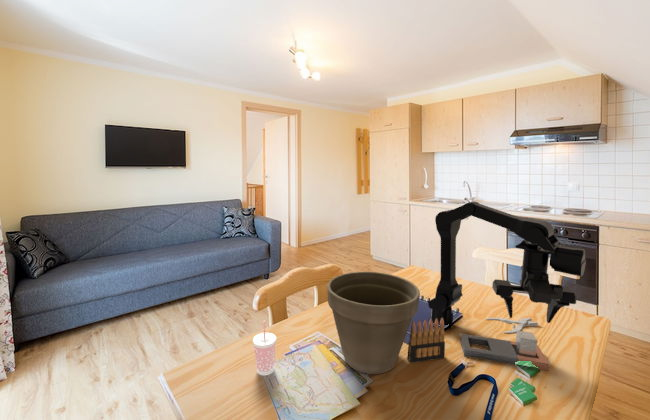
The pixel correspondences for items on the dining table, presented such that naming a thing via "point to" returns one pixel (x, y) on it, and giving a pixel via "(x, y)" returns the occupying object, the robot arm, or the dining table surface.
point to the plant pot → (372, 317)
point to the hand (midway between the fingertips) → (529, 319)
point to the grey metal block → (525, 344)
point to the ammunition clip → (426, 342)
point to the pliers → (521, 322)
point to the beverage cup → (264, 352)
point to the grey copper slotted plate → (499, 351)
